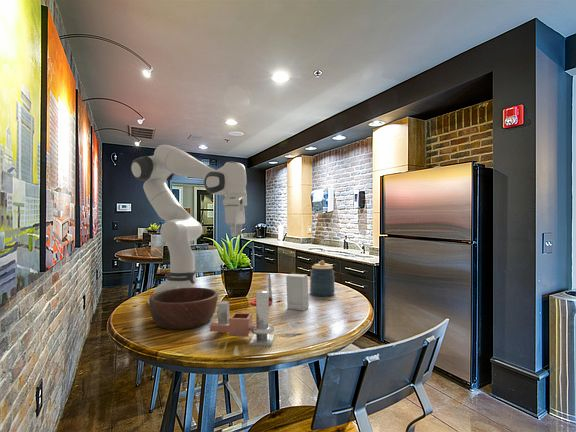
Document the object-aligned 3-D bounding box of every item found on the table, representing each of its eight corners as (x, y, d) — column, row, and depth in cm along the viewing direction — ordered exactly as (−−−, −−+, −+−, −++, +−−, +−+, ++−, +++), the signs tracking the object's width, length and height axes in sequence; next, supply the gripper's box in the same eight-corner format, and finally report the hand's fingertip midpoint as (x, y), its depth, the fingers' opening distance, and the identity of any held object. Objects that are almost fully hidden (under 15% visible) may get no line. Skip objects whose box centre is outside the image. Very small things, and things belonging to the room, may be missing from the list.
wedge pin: (217, 332, 108) (218, 303, 108) (220, 328, 112) (220, 301, 112) (226, 332, 108) (227, 303, 108) (229, 329, 111) (229, 301, 111)
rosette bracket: (207, 344, 98) (207, 293, 98) (214, 335, 106) (214, 288, 106) (272, 346, 97) (272, 295, 97) (275, 336, 104) (275, 289, 104)
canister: (321, 289, 172) (321, 257, 172) (339, 294, 163) (339, 260, 163) (304, 293, 164) (304, 260, 164) (323, 298, 154) (323, 262, 154)
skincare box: (308, 307, 138) (308, 274, 138) (303, 311, 132) (303, 276, 132) (291, 305, 142) (292, 272, 142) (285, 308, 136) (285, 274, 136)
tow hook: (249, 306, 141) (271, 306, 140) (248, 276, 141) (270, 275, 141) (252, 301, 150) (273, 300, 149) (251, 272, 150) (272, 271, 150)
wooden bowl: (166, 310, 133) (166, 286, 133) (224, 311, 132) (224, 287, 132) (135, 332, 108) (135, 303, 108) (206, 333, 107) (207, 304, 107)
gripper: (234, 203, 137) (234, 234, 136) (221, 200, 116) (222, 237, 116) (248, 202, 136) (248, 234, 136) (238, 200, 116) (239, 237, 116)
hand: (236, 235), depth 126 cm, fingers open, 8 cm apart
